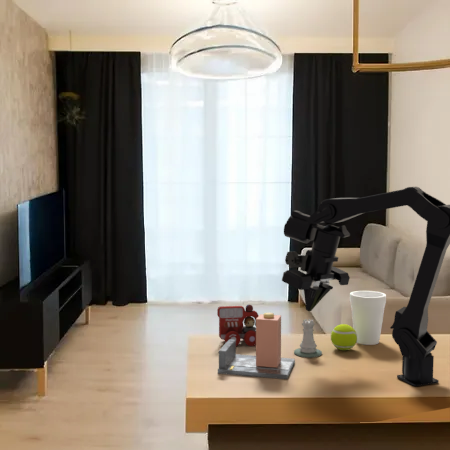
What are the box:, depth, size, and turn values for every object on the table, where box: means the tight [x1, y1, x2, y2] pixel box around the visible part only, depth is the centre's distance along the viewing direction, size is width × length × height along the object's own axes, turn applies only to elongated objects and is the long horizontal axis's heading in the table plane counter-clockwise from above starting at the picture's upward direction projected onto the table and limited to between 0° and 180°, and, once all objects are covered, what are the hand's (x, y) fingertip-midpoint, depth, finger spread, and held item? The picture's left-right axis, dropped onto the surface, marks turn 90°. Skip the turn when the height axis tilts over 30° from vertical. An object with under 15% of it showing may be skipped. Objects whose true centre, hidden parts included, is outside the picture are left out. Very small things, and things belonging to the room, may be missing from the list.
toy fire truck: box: [216, 304, 260, 347], centre depth 165 cm, size 7×12×10 cm, turn 100°
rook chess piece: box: [299, 318, 318, 354], centre depth 155 cm, size 4×4×8 cm
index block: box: [255, 312, 282, 368], centre depth 143 cm, size 5×5×12 cm
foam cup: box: [349, 290, 387, 346], centre depth 166 cm, size 10×9×13 cm
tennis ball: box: [330, 323, 357, 351], centre depth 159 cm, size 7×7×7 cm
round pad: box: [293, 347, 323, 359], centre depth 156 cm, size 7×7×1 cm
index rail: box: [217, 339, 296, 380], centre depth 144 cm, size 16×12×5 cm
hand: (308, 310), depth 149 cm, fingers closed
